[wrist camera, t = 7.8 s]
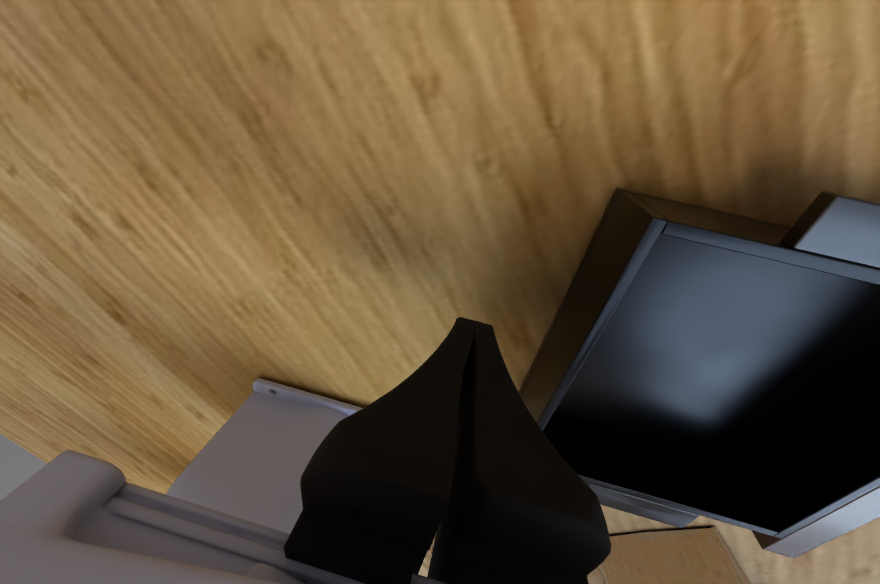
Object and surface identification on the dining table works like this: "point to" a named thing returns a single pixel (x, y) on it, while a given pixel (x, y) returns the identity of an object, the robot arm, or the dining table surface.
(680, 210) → the roasting tin
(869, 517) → the back rail
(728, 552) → the sandwich container
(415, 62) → the dining table surface
